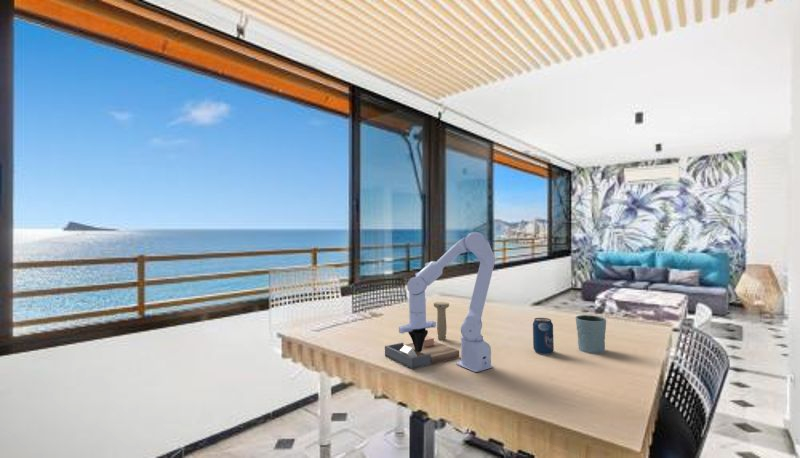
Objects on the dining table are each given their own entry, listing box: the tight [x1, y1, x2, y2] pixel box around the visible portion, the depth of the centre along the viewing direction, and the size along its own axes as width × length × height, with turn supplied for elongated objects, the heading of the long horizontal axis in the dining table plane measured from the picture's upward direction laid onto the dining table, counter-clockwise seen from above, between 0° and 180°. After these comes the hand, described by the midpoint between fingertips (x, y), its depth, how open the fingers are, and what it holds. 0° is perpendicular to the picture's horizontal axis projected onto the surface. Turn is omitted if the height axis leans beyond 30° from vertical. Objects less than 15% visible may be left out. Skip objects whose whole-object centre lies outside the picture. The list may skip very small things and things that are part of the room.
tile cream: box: [400, 344, 417, 357], centre depth 123 cm, size 4×4×2 cm
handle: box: [433, 301, 450, 341], centre depth 152 cm, size 5×6×15 cm
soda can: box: [532, 317, 555, 356], centre depth 133 cm, size 7×7×12 cm
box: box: [384, 342, 433, 370], centre depth 126 cm, size 17×8×4 cm, turn 33°
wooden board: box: [405, 340, 460, 365], centre depth 132 cm, size 17×12×2 cm
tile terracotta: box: [423, 335, 435, 347], centre depth 136 cm, size 4×4×2 cm
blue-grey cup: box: [575, 314, 607, 355], centre depth 134 cm, size 10×10×12 cm
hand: (418, 351), depth 125 cm, fingers closed
